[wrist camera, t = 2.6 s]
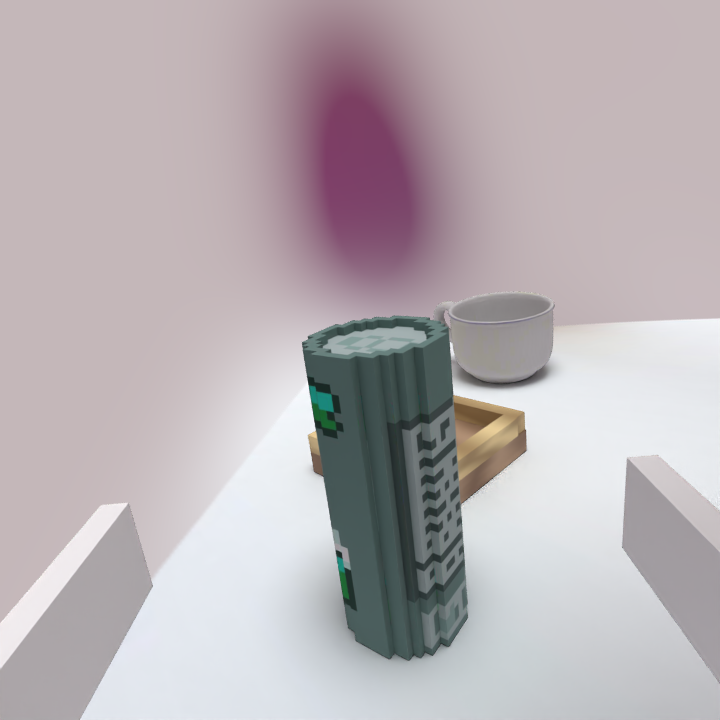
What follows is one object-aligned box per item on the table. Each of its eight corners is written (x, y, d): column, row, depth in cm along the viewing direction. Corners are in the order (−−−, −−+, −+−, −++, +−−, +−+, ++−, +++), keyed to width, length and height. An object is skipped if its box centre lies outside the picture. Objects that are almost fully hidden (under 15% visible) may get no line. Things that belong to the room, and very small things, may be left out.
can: (390, 554, 31) (361, 313, 26) (484, 591, 27) (469, 319, 23) (325, 624, 27) (275, 349, 22) (426, 679, 23) (393, 365, 18)
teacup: (575, 370, 55) (576, 297, 53) (507, 401, 50) (504, 321, 47) (479, 347, 66) (476, 285, 64) (414, 370, 61) (408, 304, 58)
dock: (410, 416, 49) (407, 384, 48) (526, 450, 41) (525, 412, 40) (314, 471, 41) (307, 435, 40) (431, 527, 33) (427, 483, 32)
